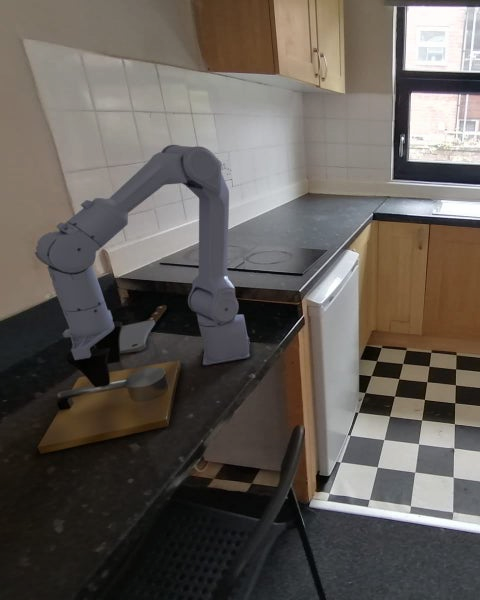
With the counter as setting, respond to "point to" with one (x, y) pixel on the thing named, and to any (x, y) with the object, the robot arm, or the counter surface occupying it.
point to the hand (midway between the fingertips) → (108, 373)
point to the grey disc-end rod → (138, 385)
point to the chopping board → (110, 412)
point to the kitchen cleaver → (138, 332)
